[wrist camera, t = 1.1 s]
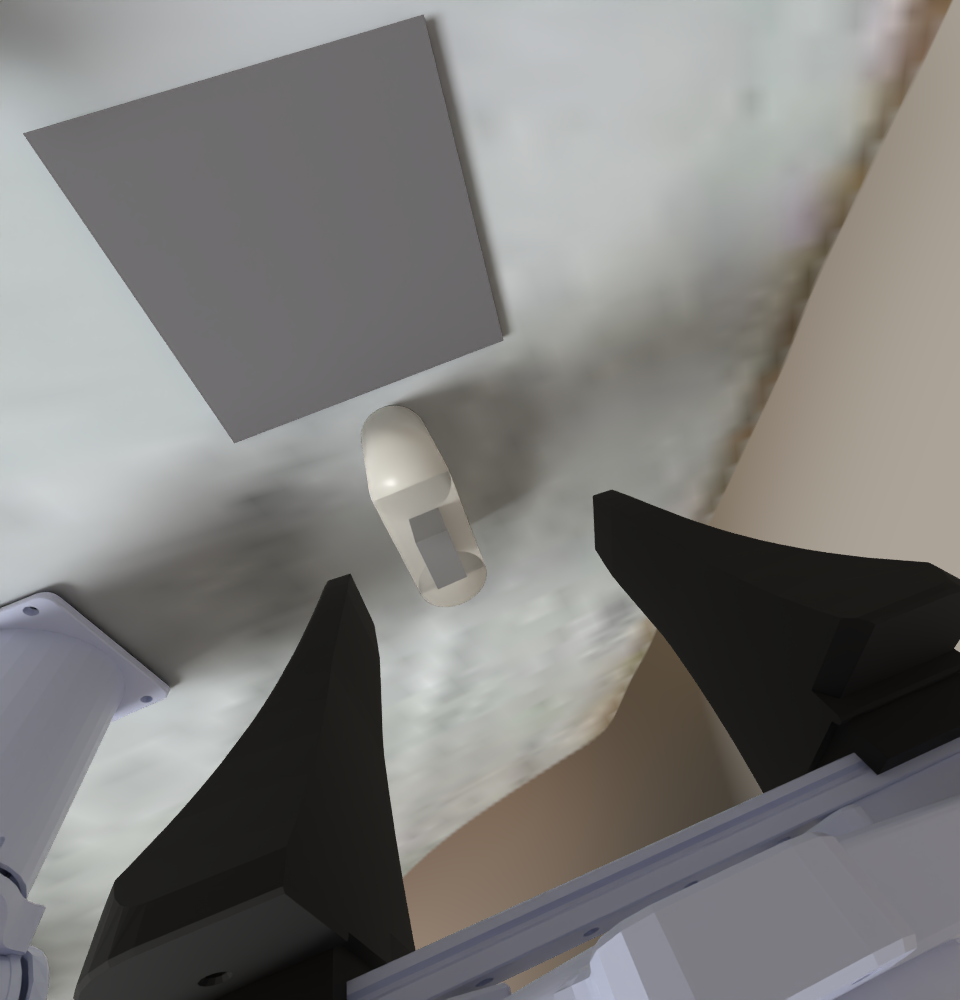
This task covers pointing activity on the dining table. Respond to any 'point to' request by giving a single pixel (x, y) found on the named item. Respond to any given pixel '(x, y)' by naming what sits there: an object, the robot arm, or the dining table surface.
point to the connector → (421, 507)
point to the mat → (289, 224)
